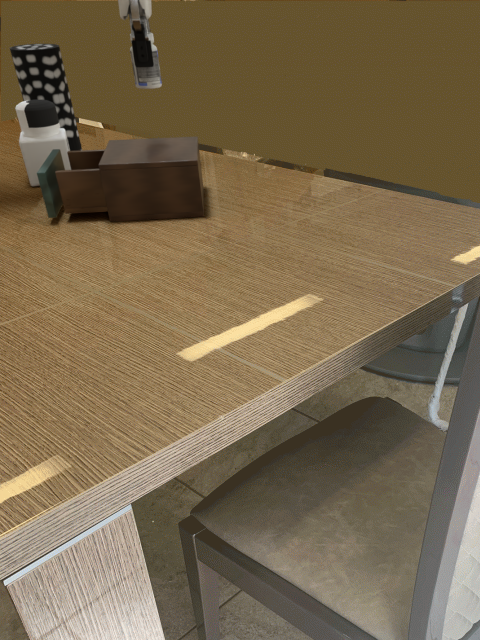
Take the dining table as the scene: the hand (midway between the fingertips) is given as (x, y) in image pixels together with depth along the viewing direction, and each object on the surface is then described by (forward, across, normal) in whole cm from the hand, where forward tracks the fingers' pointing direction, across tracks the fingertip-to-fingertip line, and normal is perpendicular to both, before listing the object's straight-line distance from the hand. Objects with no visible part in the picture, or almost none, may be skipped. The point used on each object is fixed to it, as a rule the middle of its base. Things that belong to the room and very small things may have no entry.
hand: (145, 63), depth 114 cm
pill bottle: (+4, 0, 0) cm, 4 cm away
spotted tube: (+18, -4, -19) cm, 26 cm away
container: (+18, +6, -19) cm, 27 cm away
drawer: (+17, +23, -9) cm, 30 cm away
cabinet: (+18, +23, +1) cm, 29 cm away
